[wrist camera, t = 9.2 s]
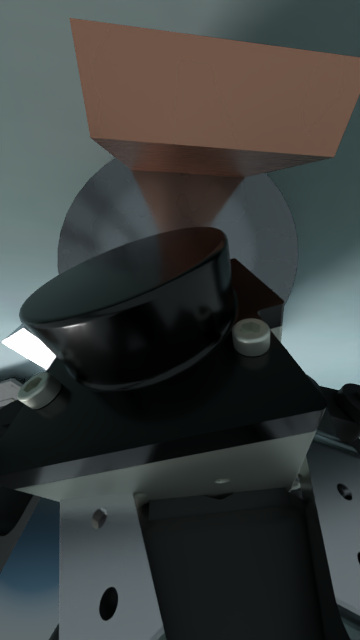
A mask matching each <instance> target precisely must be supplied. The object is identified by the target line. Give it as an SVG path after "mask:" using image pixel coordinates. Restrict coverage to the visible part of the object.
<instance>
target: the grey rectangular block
mask: <svg viewBox="0 0 360 640" xmlns="http://www.w3.org/2000/svg"><path fill="white" fill-rule="evenodd" d="M2 343H4V344H5V345H7V346H9V347H10V348H12V349H14V350H15V351H17V352H18V353H20V354H22V355H23V356H25V357H27V358H28V359H30V360H31V361H33V362H35V363H36V364H38V365H40V366H41V367H43V368H44V369H46V370H47V369H48V368H49V366H50V365H51V364H52V362H53V361H54V359H55V358H56V356H55V355H54V354H53V353H52V352H51V351H50V350H49V349H48V348H47V347H46V346H45V345H44V344H43V343H42V342H41V341H40V340H39V339H38V338H37V337H36V336H35V335H34V334H33V333H32V332H31V331H30V330H29V329H28V328H27V327H26V326H25V325H24V324H21V325H20V326H19V327H18V328H17V329H16V330H15V331H14V332H12V333H11V334H10V335H9V336H8V337H7V338H6V339H5V340H3V341H2Z"/></svg>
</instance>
